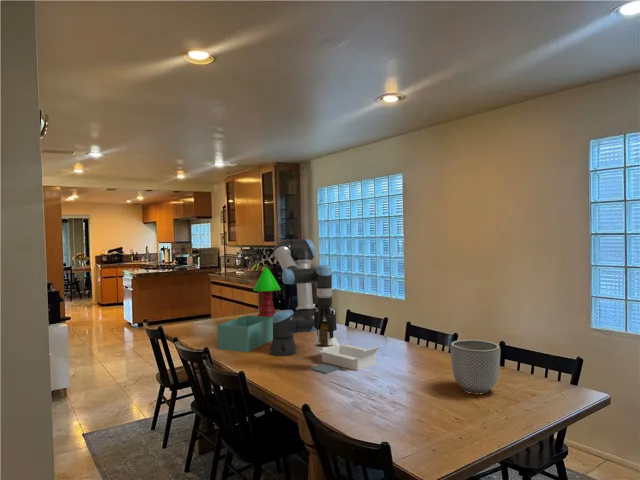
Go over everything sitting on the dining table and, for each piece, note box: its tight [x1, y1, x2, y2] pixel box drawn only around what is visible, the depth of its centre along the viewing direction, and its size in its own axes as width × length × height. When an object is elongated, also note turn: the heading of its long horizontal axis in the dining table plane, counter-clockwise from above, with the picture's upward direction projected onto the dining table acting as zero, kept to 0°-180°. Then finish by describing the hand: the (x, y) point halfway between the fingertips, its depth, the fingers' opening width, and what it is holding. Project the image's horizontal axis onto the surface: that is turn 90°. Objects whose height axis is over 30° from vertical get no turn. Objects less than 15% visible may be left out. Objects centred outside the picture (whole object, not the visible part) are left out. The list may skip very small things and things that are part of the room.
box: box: [216, 315, 273, 353], centre depth 272 cm, size 21×32×14 cm, turn 158°
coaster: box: [310, 363, 341, 375], centre depth 218 cm, size 10×10×1 cm
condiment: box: [314, 319, 336, 349], centre depth 218 cm, size 7×8×12 cm
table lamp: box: [252, 266, 282, 317], centre depth 314 cm, size 20×20×45 cm
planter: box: [449, 339, 501, 395], centre depth 185 cm, size 20×20×19 cm
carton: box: [318, 336, 381, 372], centre depth 229 cm, size 31×20×10 cm, turn 45°
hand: (325, 343), depth 218 cm, fingers closed on condiment, 6 cm apart
